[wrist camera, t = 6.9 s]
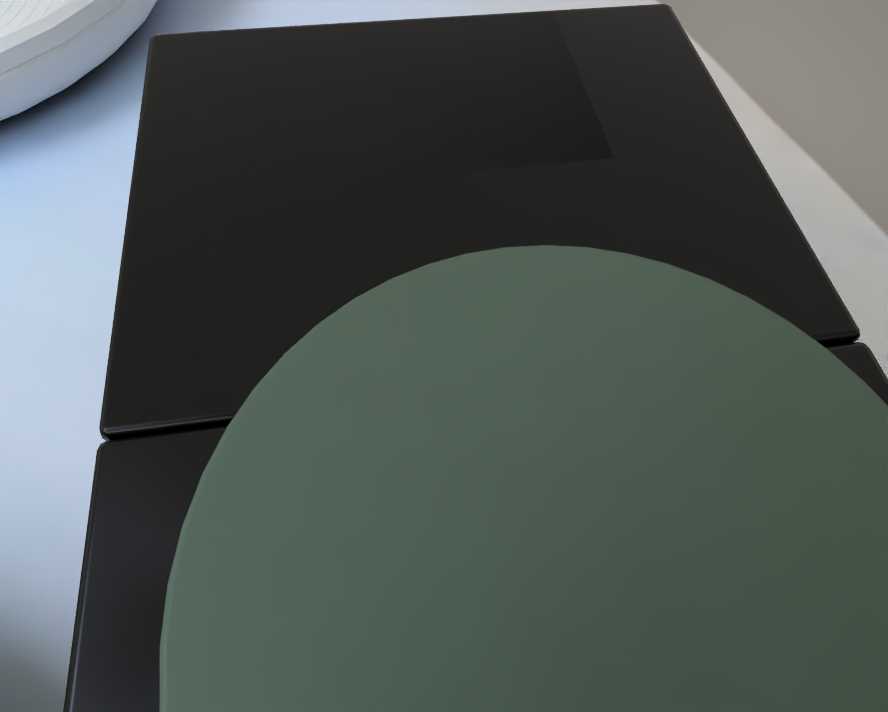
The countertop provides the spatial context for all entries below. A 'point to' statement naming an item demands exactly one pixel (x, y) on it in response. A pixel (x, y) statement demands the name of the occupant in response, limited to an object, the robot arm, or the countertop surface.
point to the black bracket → (386, 233)
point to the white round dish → (58, 44)
